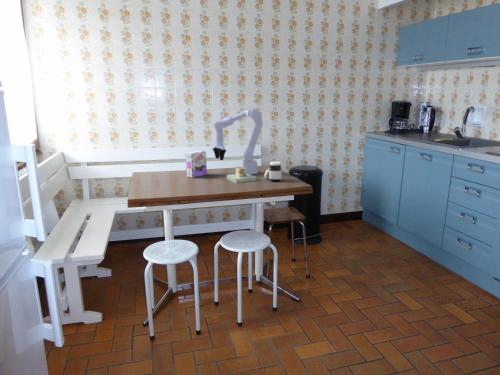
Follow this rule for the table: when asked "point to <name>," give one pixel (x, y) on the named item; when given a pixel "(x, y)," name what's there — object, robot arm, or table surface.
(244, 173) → the beech block
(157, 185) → the table surface
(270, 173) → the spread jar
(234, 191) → the table surface
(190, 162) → the candy box
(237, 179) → the sage box
